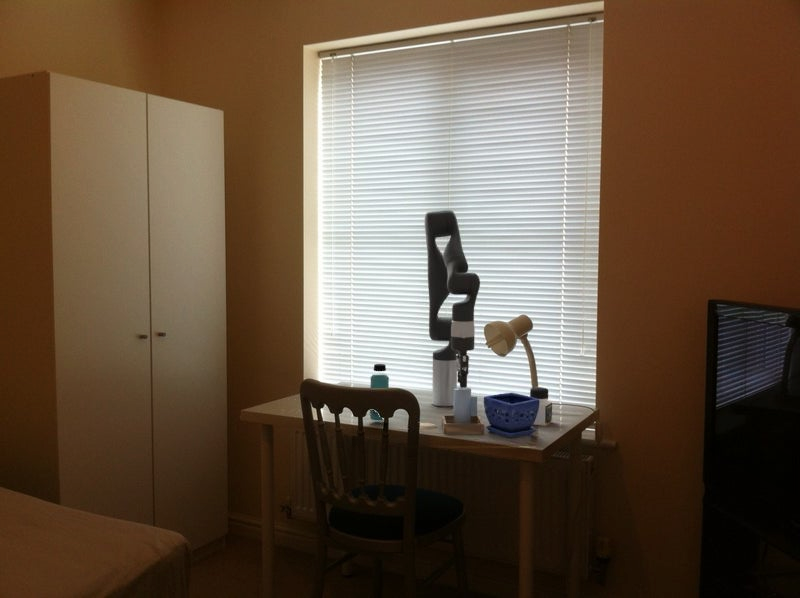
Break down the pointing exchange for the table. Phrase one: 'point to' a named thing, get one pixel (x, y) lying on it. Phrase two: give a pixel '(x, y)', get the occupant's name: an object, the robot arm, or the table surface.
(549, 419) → the medicine bottle
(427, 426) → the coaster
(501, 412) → the flower pot
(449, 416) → the tray
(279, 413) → the table surface
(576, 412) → the table surface
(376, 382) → the beverage bottle
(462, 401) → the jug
